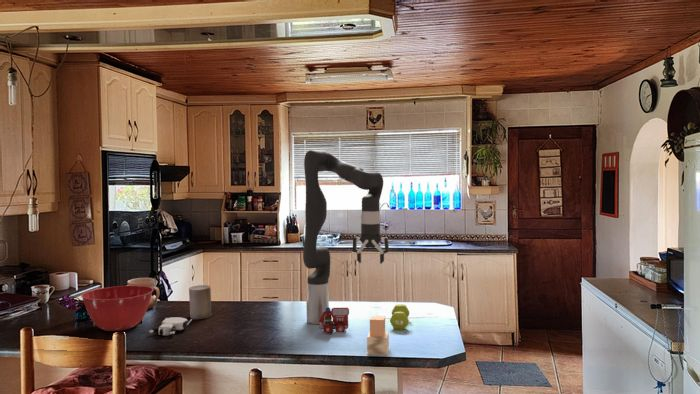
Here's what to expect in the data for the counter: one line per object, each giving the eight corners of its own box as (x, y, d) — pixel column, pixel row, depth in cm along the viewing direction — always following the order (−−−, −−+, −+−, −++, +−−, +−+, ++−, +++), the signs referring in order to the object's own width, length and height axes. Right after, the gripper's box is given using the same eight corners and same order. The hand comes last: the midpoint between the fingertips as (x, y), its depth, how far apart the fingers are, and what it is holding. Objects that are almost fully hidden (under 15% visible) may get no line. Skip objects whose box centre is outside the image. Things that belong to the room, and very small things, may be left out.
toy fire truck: (320, 329, 225) (320, 304, 224) (349, 329, 224) (349, 305, 223) (318, 334, 218) (318, 309, 217) (348, 334, 217) (348, 309, 216)
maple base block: (367, 353, 191) (367, 337, 190) (369, 347, 198) (369, 331, 197) (386, 354, 190) (386, 337, 189) (388, 348, 196) (388, 331, 196)
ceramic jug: (116, 311, 258) (116, 282, 257) (135, 303, 272) (134, 276, 271) (150, 314, 254) (149, 284, 253) (167, 306, 268) (166, 278, 267)
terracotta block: (369, 336, 191) (369, 319, 191) (371, 332, 196) (371, 315, 196) (383, 336, 190) (383, 320, 190) (385, 332, 195) (385, 316, 195)
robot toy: (174, 340, 215) (193, 327, 230) (173, 329, 214) (192, 317, 229) (147, 338, 218) (167, 325, 232) (146, 328, 217) (166, 315, 232)
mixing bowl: (111, 316, 249) (110, 283, 248) (166, 319, 243) (165, 285, 242) (67, 334, 221) (65, 297, 220) (129, 338, 215) (127, 300, 214)
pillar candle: (215, 314, 251) (214, 282, 250) (205, 319, 241) (204, 286, 240) (195, 313, 252) (194, 282, 252) (185, 319, 243) (184, 286, 242)
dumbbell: (408, 330, 221) (408, 313, 221) (389, 330, 223) (389, 313, 222) (410, 319, 238) (409, 303, 237) (392, 319, 239) (391, 303, 239)
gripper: (351, 223, 209) (351, 264, 210) (387, 223, 207) (387, 265, 208) (354, 221, 216) (354, 260, 217) (389, 221, 214) (389, 261, 215)
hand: (370, 262), depth 212 cm, fingers open, 8 cm apart
